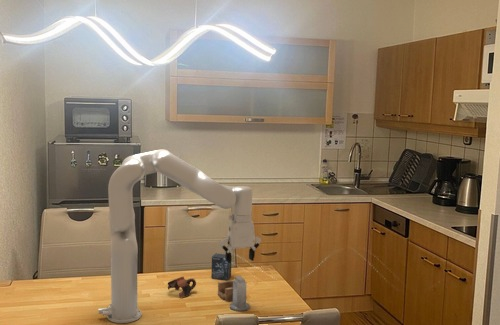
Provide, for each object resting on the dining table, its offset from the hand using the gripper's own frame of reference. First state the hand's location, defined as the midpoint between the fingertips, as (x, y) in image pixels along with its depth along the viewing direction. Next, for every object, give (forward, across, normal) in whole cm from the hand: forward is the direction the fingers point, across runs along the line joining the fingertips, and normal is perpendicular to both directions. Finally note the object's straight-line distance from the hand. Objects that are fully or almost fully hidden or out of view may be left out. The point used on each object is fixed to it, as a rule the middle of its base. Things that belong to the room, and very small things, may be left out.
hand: (239, 260), depth 206 cm
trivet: (+19, +1, 0) cm, 19 cm away
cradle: (+19, +2, +12) cm, 23 cm away
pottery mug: (+20, -17, +22) cm, 34 cm away
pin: (+18, 0, 0) cm, 18 cm away
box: (+19, +6, +34) cm, 39 cm away
